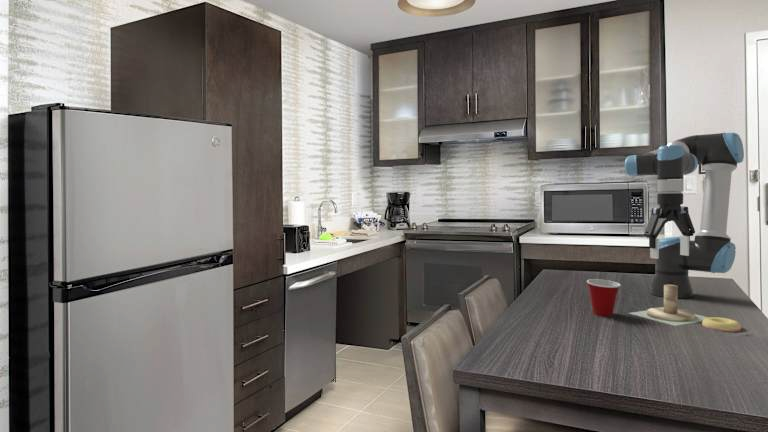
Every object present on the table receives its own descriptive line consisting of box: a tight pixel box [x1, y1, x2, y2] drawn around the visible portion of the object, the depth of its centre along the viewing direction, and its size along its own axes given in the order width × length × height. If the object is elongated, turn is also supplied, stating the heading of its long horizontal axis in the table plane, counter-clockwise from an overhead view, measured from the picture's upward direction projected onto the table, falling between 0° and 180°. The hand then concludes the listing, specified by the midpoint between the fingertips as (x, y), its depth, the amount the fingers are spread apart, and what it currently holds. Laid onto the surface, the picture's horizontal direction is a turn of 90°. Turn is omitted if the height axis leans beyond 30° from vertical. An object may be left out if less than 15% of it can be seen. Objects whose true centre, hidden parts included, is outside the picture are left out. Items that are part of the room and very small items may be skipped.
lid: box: [646, 285, 696, 321], centre depth 173 cm, size 14×14×10 cm
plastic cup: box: [586, 278, 622, 317], centre depth 178 cm, size 11×11×12 cm
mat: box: [628, 309, 709, 327], centre depth 173 cm, size 18×18×1 cm
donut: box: [701, 316, 742, 333], centre depth 159 cm, size 10×5×9 cm
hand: (669, 256), depth 172 cm, fingers open, 13 cm apart
